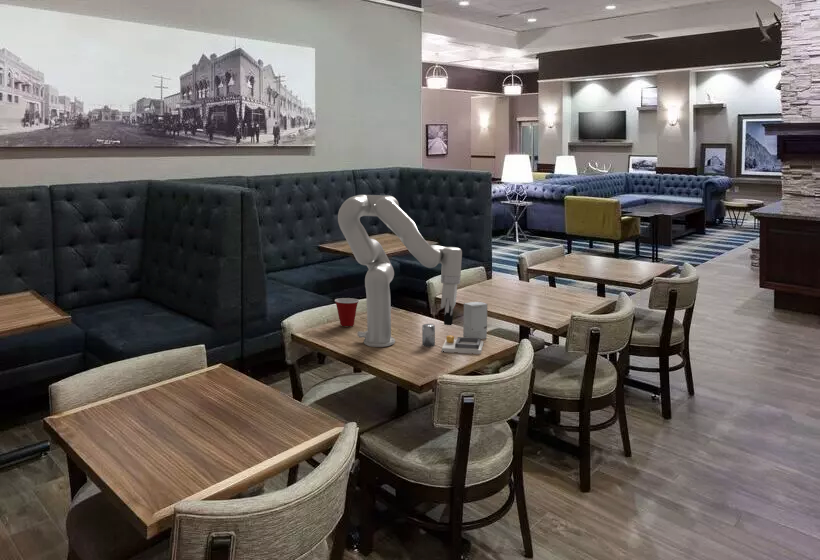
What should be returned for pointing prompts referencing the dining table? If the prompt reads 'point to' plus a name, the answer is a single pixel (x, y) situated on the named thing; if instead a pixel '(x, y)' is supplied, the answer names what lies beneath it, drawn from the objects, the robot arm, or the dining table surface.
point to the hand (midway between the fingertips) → (448, 324)
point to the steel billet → (428, 335)
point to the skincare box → (475, 320)
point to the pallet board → (464, 345)
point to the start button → (449, 338)
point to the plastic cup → (346, 310)
